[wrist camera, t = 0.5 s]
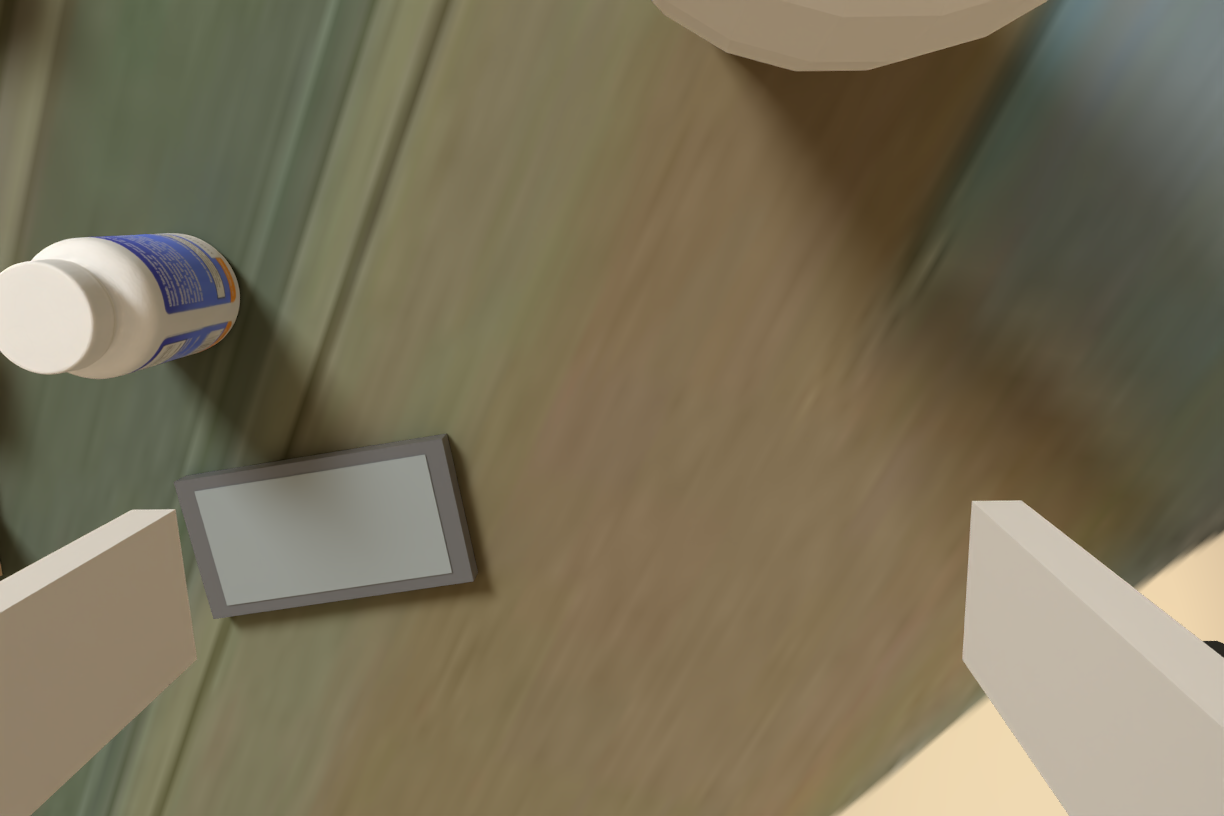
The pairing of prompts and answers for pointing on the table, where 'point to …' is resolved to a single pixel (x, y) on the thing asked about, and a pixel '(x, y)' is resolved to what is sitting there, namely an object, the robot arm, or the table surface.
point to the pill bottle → (116, 304)
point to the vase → (841, 28)
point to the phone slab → (328, 527)
